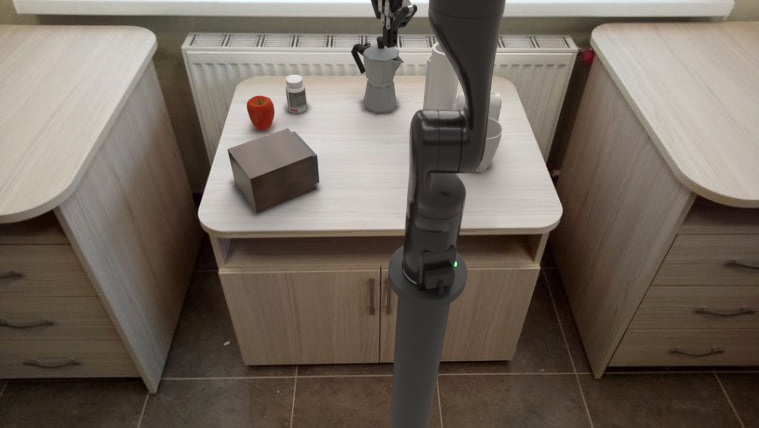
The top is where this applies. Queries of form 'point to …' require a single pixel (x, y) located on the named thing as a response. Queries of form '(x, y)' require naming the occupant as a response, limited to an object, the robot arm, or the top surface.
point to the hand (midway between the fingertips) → (389, 45)
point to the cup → (491, 142)
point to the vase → (440, 81)
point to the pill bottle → (296, 94)
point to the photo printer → (493, 106)
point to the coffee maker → (378, 74)
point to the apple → (261, 112)
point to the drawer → (313, 157)
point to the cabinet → (272, 169)
